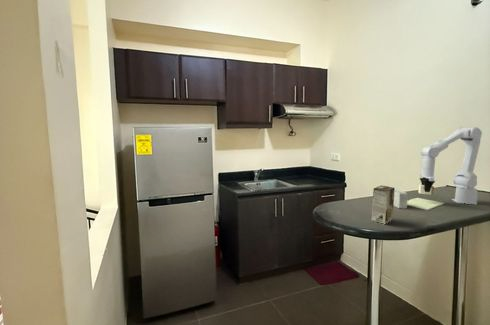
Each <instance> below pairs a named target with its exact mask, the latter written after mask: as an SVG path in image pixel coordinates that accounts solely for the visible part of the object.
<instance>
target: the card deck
mask: <svg viewBox="0 0 490 325" xmlns="http://www.w3.org/2000/svg"><path fill="white" fill-rule="evenodd" d="M434 189H435V186H433V185H432V187H431V189H430V192H425V190H424V185H422V184H419V185H418V194H420V195H432V196H433V195H434Z"/></svg>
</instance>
